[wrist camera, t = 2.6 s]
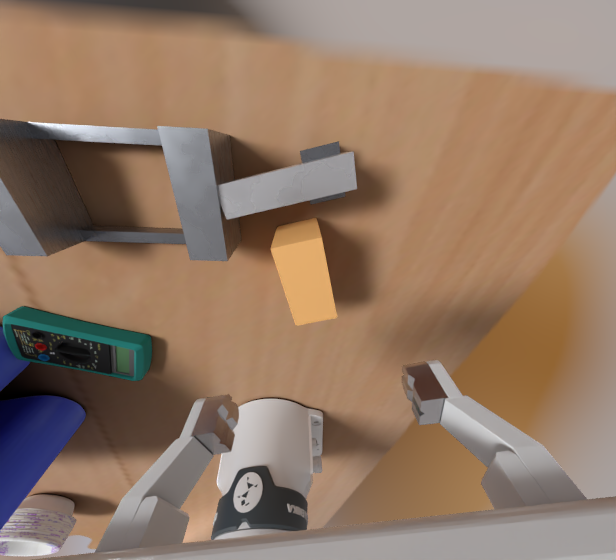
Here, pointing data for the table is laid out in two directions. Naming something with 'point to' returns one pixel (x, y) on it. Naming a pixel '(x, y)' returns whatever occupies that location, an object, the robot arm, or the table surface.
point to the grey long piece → (184, 178)
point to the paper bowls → (38, 526)
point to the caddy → (29, 434)
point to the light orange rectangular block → (304, 271)
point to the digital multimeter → (77, 344)
